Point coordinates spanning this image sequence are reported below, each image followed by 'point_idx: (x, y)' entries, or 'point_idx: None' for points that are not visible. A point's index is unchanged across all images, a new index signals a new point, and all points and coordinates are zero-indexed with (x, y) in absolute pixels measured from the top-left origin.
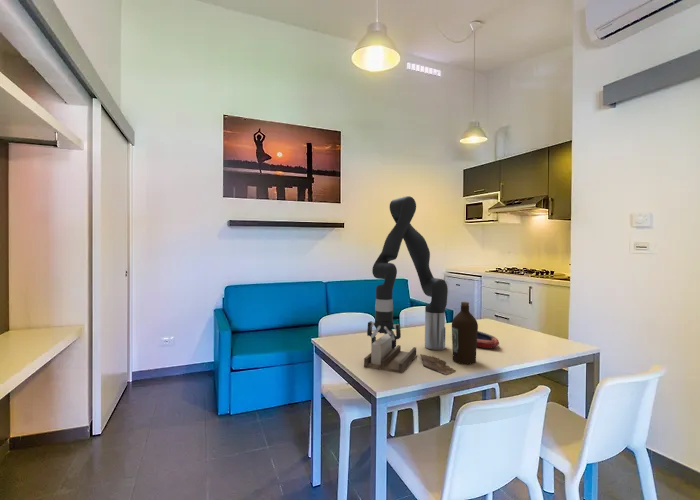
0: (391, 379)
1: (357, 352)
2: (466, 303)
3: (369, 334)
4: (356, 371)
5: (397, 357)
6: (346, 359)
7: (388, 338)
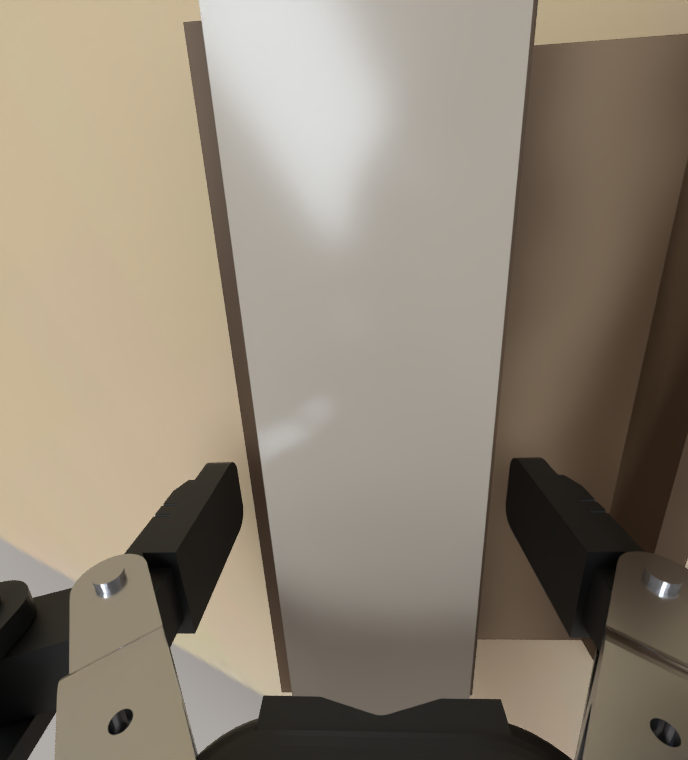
0: (539, 720)
1: (23, 314)
2: None
3: (52, 710)
4: (289, 692)
5: (513, 362)
6: (84, 536)
7: (467, 548)
